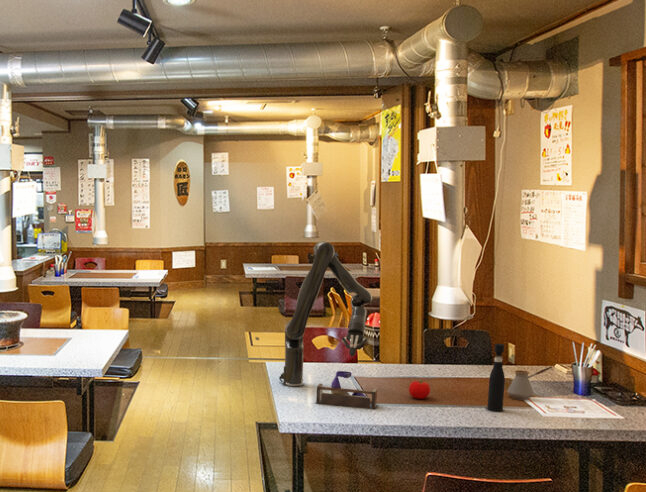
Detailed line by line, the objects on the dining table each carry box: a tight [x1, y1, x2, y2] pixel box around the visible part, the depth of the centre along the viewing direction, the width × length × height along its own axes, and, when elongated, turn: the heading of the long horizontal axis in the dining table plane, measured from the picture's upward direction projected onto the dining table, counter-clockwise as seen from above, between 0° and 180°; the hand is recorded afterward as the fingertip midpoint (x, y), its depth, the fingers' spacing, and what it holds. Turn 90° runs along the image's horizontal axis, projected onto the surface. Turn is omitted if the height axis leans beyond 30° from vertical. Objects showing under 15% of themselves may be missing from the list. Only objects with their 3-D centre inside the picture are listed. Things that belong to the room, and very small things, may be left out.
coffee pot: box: [506, 366, 555, 401], centre depth 359 cm, size 21×12×15 cm, turn 97°
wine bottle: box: [486, 343, 506, 413], centre depth 338 cm, size 6×6×30 cm
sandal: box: [330, 370, 372, 404], centre depth 353 cm, size 8×20×15 cm, turn 89°
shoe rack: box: [315, 383, 378, 410], centre depth 350 cm, size 26×7×8 cm, turn 69°
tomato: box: [408, 380, 431, 400], centre depth 360 cm, size 9×10×8 cm
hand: (352, 355), depth 362 cm, fingers closed
